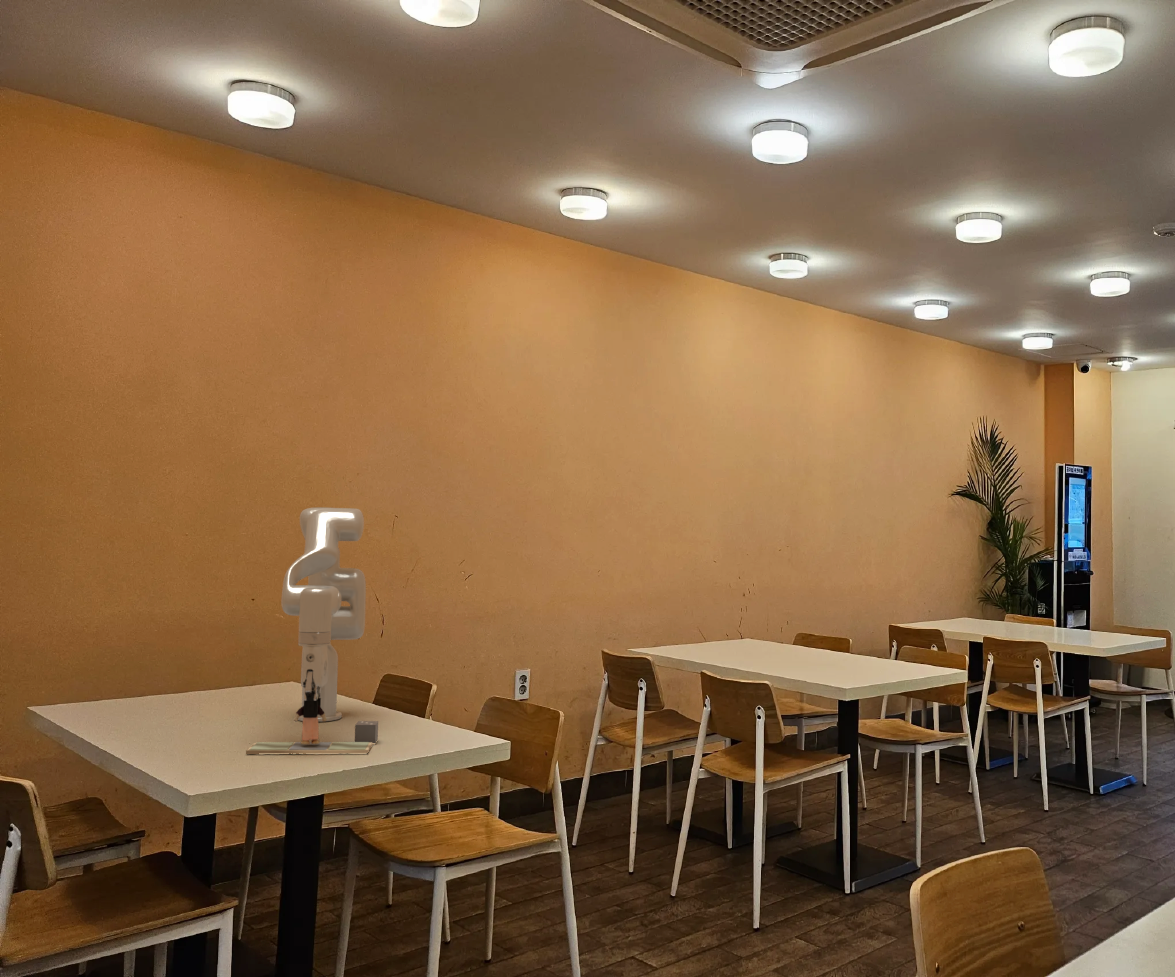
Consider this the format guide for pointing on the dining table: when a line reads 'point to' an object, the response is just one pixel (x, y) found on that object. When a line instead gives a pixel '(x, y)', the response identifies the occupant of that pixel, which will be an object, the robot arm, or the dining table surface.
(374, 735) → the die
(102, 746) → the dining table surface
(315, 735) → the grandmother figurine
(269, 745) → the board
